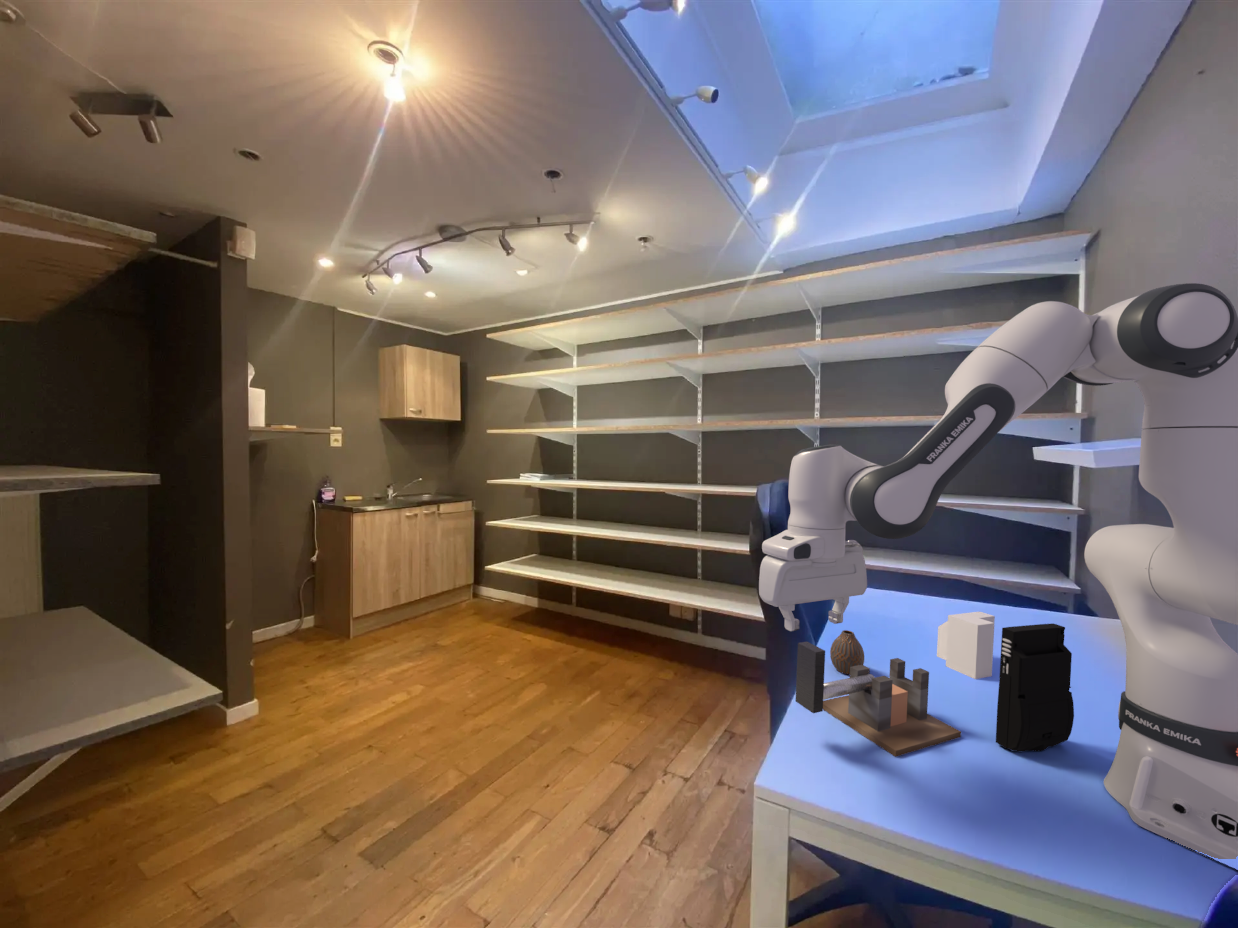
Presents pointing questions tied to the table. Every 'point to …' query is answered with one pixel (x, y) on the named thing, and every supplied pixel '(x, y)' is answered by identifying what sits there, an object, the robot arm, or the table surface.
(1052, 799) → the table surface
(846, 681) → the shaft
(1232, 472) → the robot arm
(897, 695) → the block
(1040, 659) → the handheld gaming console
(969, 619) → the corner bracket
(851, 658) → the vase
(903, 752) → the shaft stand
